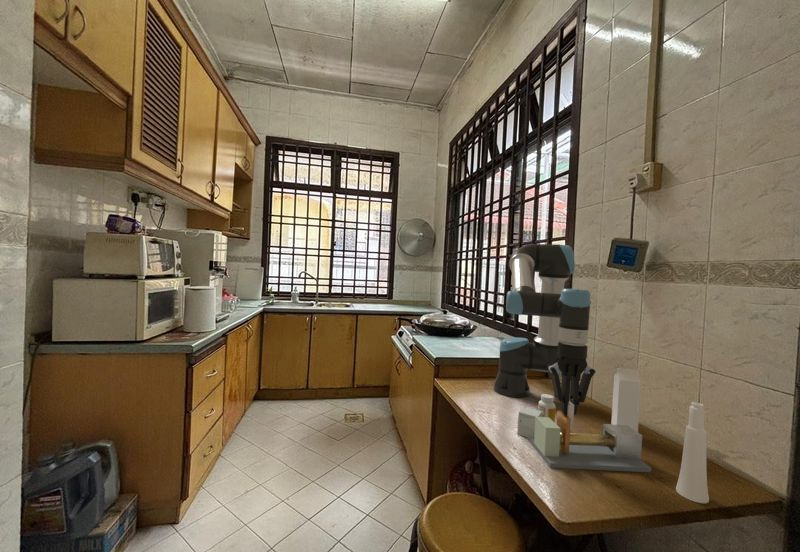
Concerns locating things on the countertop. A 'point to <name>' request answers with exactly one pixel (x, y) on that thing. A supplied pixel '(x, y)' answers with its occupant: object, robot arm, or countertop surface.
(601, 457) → the board
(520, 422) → the product box
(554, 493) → the countertop surface
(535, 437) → the socket
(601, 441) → the tube
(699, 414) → the cosmetic bottle
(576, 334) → the robot arm
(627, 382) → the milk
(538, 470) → the countertop surface
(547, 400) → the supplement bottle
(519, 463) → the countertop surface
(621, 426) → the grey cube end cap
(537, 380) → the countertop surface
